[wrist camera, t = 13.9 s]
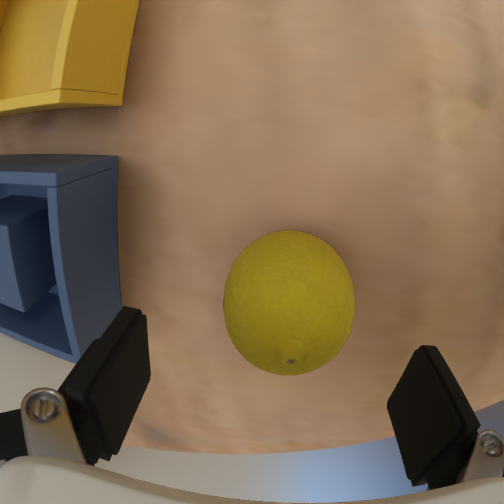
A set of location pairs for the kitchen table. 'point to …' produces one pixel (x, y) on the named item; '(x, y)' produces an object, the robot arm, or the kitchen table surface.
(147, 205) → the kitchen table surface
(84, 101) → the yellow bin
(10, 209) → the blue block
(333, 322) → the lemon
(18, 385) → the milk carton
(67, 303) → the blue bin
